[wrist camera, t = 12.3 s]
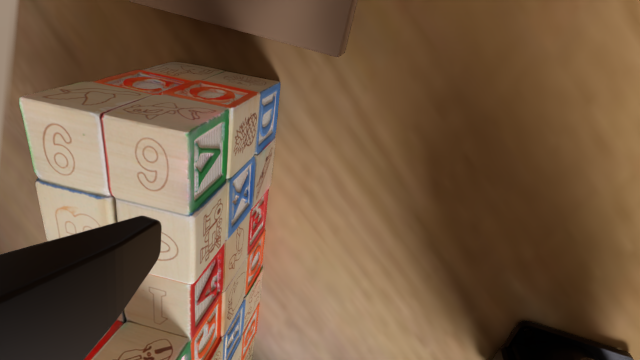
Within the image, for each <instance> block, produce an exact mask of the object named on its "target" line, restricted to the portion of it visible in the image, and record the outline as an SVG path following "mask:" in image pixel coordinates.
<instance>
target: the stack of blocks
mask: <svg viewBox="0 0 640 360" xmlns="http://www.w3.org/2000/svg"><path fill="white" fill-rule="evenodd" d="M279 94H280V82H279V81H274V80H268V79H263V78H258V77H253V76H248V75H243V74H238V73H233V72H226V71H224V70H219V69H215V68H210V67H205V66H199V65H194V64H188V63H181V62H170V63H165V64H161V65H158V66H154V67H151V68H147V69H144V70H134V71H130V72H127V73H123V74H119V75H115V76H110V77H107V78H104V79H100V80H97V81H94V82H80V83H76V84H72V85H67V86H63V87H59V88H54V89H50V90H45V91H41V92H37V93H33V94H29V95H25V96H22V97H20V98H19V106H20V110H21V113H22V117H23V122H24V126H25V131H26V135H27V140H28V144H29V149H30V154H31V159H32V163H33V168H34V172H35V173H36V175H37V176H38V179H37V180H36V183H35V186H36V190H37V195H38V199H39V204H40V209H41V214H42V218H43V223H44V228H45V233H46V238H47V241H51V240H55V239H58V238H62V237H65V236H69V235H73V234H76V233H80V232H84V231H87V230H91V229H94V228H98V227H102V226H105V225H109V224H112V223H116V222H120V221H123V220H127V219H130V218H134V217H138V216H147V217H150V218H153V219H156V220H159V221H160V223H161V226H162V231H161V251H160V255H159V258H158V260H157V262H156V263H155V265H154V266H153V268H152V269H151V271H150V272H149V274H148V275H147V277H146V278H145V280H144V281H143V282H142V284H141V285H140V287H139V288H138V290H137V291H136V293H135V294H134V296H133V297H132V299H131V300H130V302H129V303H128V305H127V306H126V308H125V309H124V310H123V312H122V313H121V315H120V316H119V317H118V319H117V320H116V321H115V323H114V324H113V325H112V326H111V328H110V329H109V330H108V331H107V332H106V334H105V335H104V336H103V337H102V338H101V340H100V341H99V342H98V343H97V344H96V345H95V347H94V348H93V349H92V350H91V351H90V353H89V354H88V355H87V356H86V357H85V359H84V360H252V356H253V347H254V338H255V334H256V331H257V321H258V312H259V301H260V295H261V286H262V276H263V267H262V260H263V249H264V239H265V228H264V227H265V220H266V212H267V200H268V191H269V187H270V185H271V179H272V169H273V160H274V151H275V133H276V126H277V117H278V105H279Z"/></svg>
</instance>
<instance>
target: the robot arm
mask: <svg viewBox="0 0 640 360" xmlns="http://www.w3.org/2000/svg"><path fill="white" fill-rule="evenodd" d="M161 231H162V226H161V223H160V221H159V220H156V219H153V218H150V217H147V216H138V217H134V218H130V219H127V220H123V221H120V222H116V223H112V224H109V225H105V226H102V227H98V228H94V229H91V230H87V231H84V232H80V233H76V234H73V235H69V236H65V237H62V238H58V239H55V240H51V241H47V242H44V243H40V244H36V245H33V246H29V247H26V248H22V249H18V250H15V251H11V252H8V253H4V254H0V360H84V359H85V357H86V356H87V355H88V354H89V353H90V351H91V350H92V349H93V348H94V347H95V345H96V344H97V343H98V342H99V341H100V340H101V338H102V337H103V336H104V335H105V334H106V332H107V331H108V330H109V329H110V328H111V326H112V325H113V324H114V323H115V321H116V320H117V319H118V317H119V316H120V315H121V313H122V312H123V310H124V309H125V308H126V306H127V305H128V303H129V302H130V300H131V299H132V297H133V296H134V294H135V293H136V291H137V290H138V288H139V287H140V285H141V284H142V282H143V281H144V280H145V278H146V277H147V275H148V274H149V272H150V271H151V269H152V268H153V266H154V265H155V263H156V262H157V260H158V258H159V255H160V251H161ZM525 329H529V330H525ZM493 360H634V359H633V357H632V356H631V355H630V353H628V352H625V351H622V350H619V349H616V348H613V347H609V346H606V345H603V344H600V343H597V342H594V341H591V340H587V339H584V338H581V337H578V336H575V335H572V334H568V333H565V332H562V331H559V330H556V329H553V328H550V327H546V326H543V325H540V324H537V323H534V322H531V321H521V322H519V323H518V324H517V325H516V327H515V328H514V330H513V332H512V333H511V335H510V336H509V338H508V339H507V341H506V343H505V344H504V346H503V347H501V348H500V349H499V350H498V352H497V353H496V355H495V356H494V358H493Z"/></svg>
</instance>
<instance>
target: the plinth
mask: <svg viewBox="0 0 640 360" xmlns="http://www.w3.org/2000/svg"><path fill="white" fill-rule="evenodd" d="M130 2H134V3H137V4H141V5H145V6H148V7H152V8H156V9H160V10H163V11H167V12H171V13H175V14H178V15H182V16H186V17H189V18H193V19H197V20H201V21H204V22H208V23H212V24H216V25H219V26H223V27H227V28H230V29H234V30H238V31H242V32H245V33H249V34H253V35H257V36H260V37H264V38H268V39H271V40H275V41H279V42H283V43H286V44H290V45H294V46H298V47H301V48H305V49H309V50H312V51H316V52H320V53H324V54H327V55H331V56H335V57H339V56H341V55H342V54H343V53H345V49H346V45H347V41H348V37H349V33H350V29H351V25H352V21H353V16H354V12H355V8H356V4H357V0H130Z"/></svg>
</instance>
